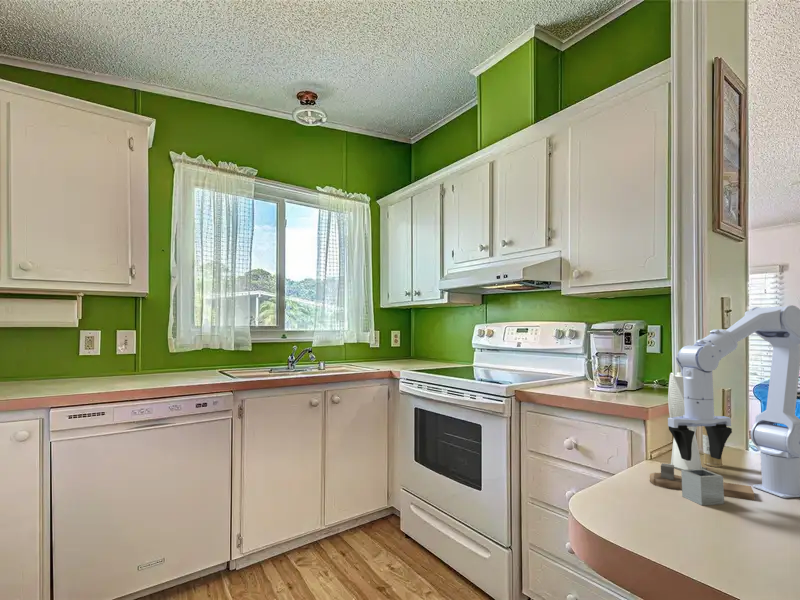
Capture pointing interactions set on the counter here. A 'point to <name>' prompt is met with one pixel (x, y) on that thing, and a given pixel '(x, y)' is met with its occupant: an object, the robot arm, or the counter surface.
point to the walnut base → (675, 482)
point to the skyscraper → (678, 410)
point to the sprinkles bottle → (707, 457)
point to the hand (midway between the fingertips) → (701, 458)
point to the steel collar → (702, 486)
